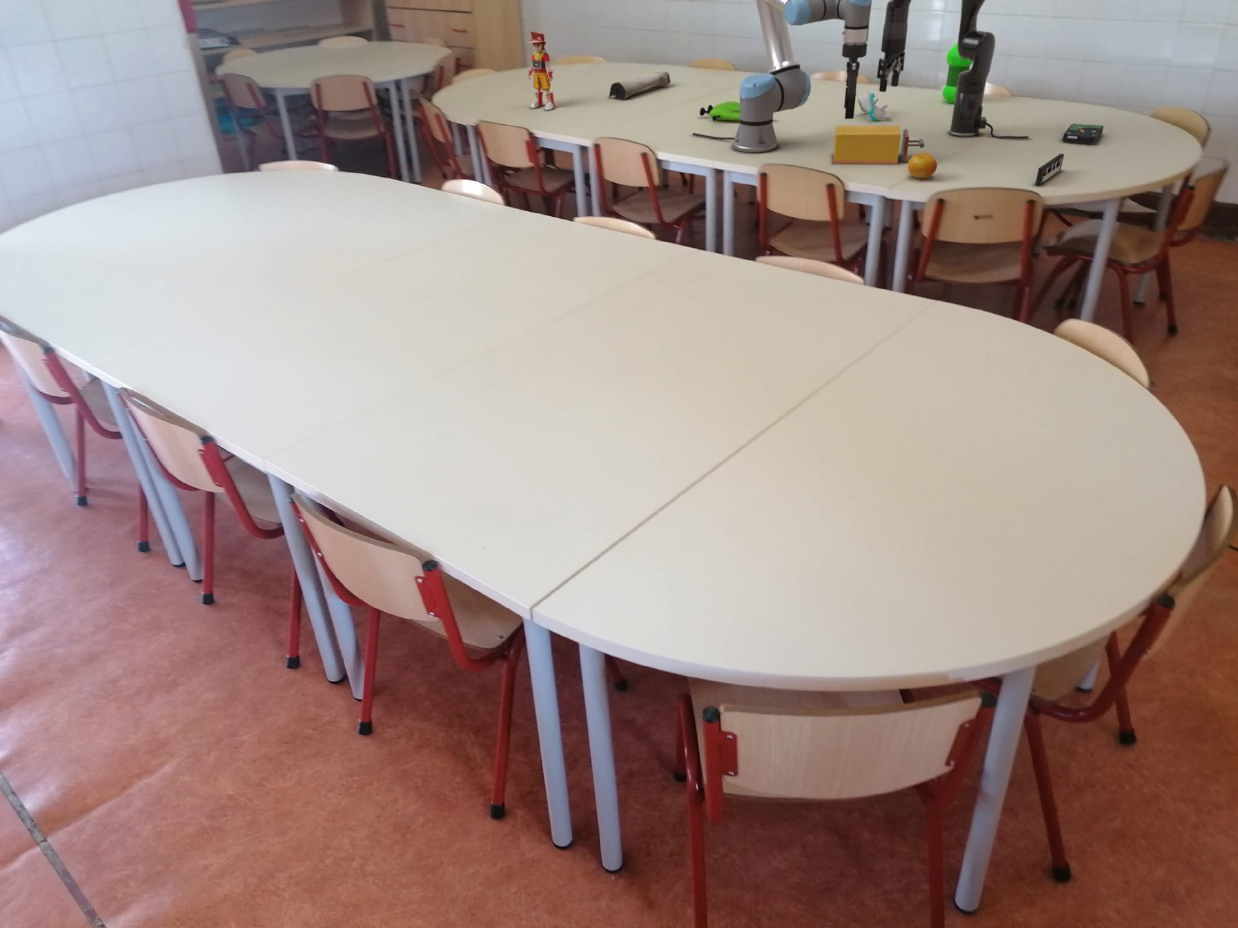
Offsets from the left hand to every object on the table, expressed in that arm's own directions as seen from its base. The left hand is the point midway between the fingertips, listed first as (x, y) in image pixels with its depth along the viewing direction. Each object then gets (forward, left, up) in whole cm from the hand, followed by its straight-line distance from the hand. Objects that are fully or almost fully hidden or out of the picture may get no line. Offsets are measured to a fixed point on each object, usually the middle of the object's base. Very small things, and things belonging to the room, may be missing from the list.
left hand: (848, 113), depth 293 cm
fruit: (+29, -11, -15) cm, 34 cm away
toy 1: (-142, +25, -15) cm, 145 cm away
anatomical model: (-9, +55, -15) cm, 57 cm away
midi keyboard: (+64, +3, -15) cm, 65 cm away
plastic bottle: (+14, +87, -15) cm, 89 cm away
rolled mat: (-116, +63, -15) cm, 133 cm away
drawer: (+12, +4, -14) cm, 19 cm away
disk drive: (+66, +51, -15) cm, 85 cm away
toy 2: (-55, +37, -15) cm, 68 cm away
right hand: (+8, +15, +5) cm, 18 cm away
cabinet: (+6, +2, -15) cm, 16 cm away
